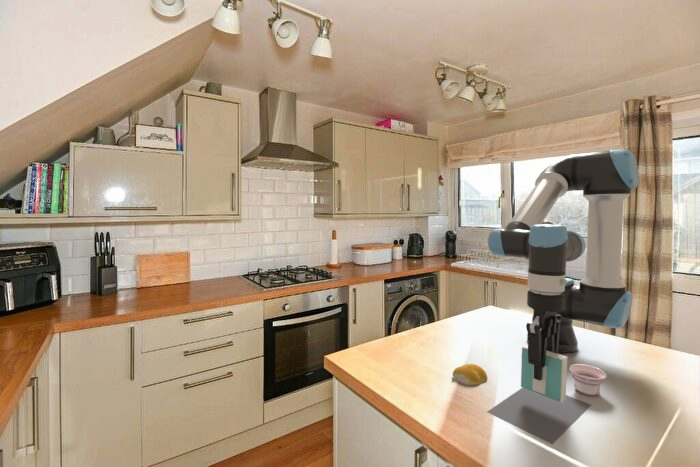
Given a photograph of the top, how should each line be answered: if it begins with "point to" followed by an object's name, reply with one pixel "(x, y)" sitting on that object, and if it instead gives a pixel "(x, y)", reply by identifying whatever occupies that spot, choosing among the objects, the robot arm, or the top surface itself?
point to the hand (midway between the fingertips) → (542, 389)
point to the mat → (539, 413)
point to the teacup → (587, 378)
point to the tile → (554, 374)
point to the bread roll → (470, 374)
